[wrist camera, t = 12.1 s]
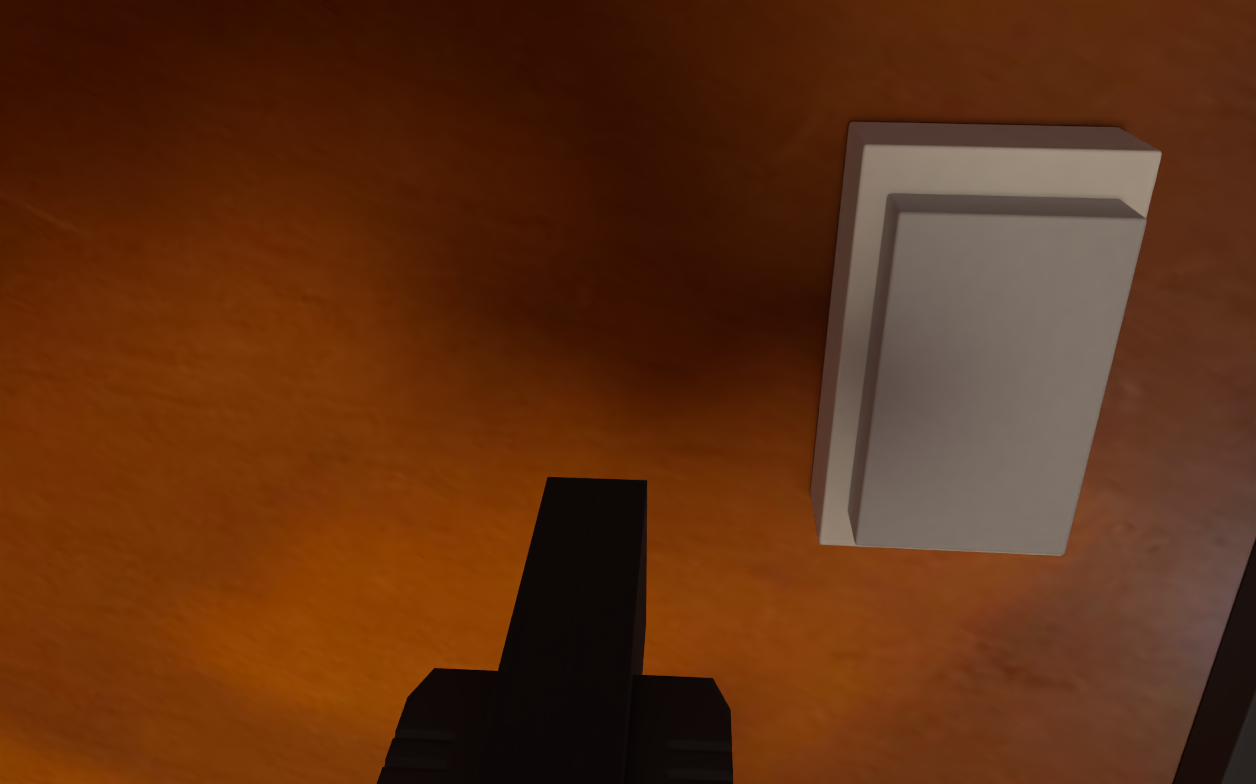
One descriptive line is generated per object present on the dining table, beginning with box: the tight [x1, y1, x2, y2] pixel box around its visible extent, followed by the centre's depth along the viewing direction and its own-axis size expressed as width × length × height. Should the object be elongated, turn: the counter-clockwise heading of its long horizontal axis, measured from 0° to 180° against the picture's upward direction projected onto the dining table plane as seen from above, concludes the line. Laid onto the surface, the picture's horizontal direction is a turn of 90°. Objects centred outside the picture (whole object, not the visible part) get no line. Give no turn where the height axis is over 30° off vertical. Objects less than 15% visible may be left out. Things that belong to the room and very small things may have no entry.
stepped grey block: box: [810, 122, 1162, 556], centre depth 23 cm, size 10×6×4 cm, turn 0°
